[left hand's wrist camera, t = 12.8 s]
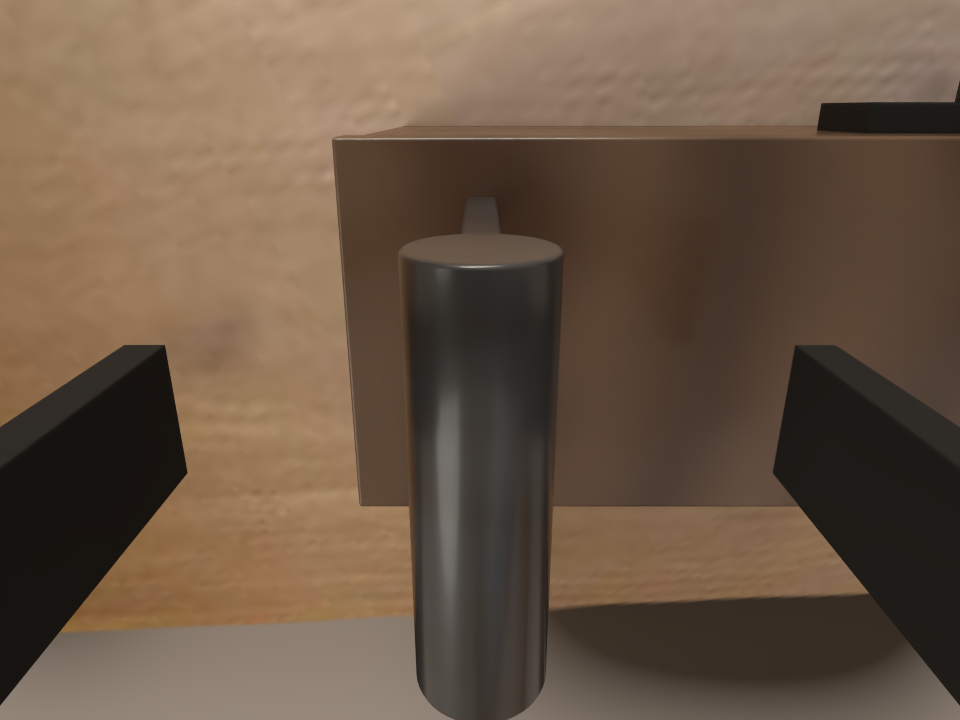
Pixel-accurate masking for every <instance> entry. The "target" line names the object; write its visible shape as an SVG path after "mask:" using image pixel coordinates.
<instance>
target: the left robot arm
mask: <svg viewBox="0 0 960 720" xmlns="http://www.w3.org/2000/svg"><path fill="white" fill-rule="evenodd" d="M186 474H187V467H186V462H185V456H184V450H183V445H182V439H181V433H180V428H179V422H178V417H177V411H176V405H175V400H174V394H173V388H172V383H171V377H170V371H169V366H168V360H167V354H166V349H165V345H124V346H122V347H121V348H119V349H118V350H116V351H115V352H113V353H112V354H110V355H109V356H107V357H106V358H104V359H103V360H101V361H100V362H98V363H97V364H95V365H94V366H92V367H90V368H89V369H87V370H86V371H84V372H83V373H81V374H80V375H78V376H77V377H75V378H74V379H72V380H71V381H69V382H68V383H66V384H65V385H63V386H62V387H60V388H59V389H57V390H56V391H54V392H53V393H51V394H50V395H48V396H47V397H45V398H44V399H42V400H41V401H39V402H38V403H36V404H35V405H33V406H31V407H30V408H28V409H27V410H25V411H24V412H22V413H21V414H19V415H18V416H16V417H15V418H13V419H12V420H10V421H9V422H7V423H6V424H4V425H3V426H1V427H0V705H1V704H2V703H3V701H4V700H5V699H6V698H7V696H8V695H9V694H10V693H11V691H12V690H13V689H14V688H15V686H16V685H17V684H18V683H19V681H20V680H21V679H22V678H23V676H24V675H25V674H26V673H27V672H28V670H29V669H30V668H31V667H32V665H33V664H34V663H35V662H36V660H37V659H38V658H39V657H40V655H41V654H42V653H43V652H44V650H45V649H46V648H47V647H48V645H49V644H50V643H51V642H52V641H53V639H54V638H55V637H56V636H57V634H58V633H59V632H60V631H61V629H62V628H63V627H64V626H65V624H66V623H67V622H68V621H69V619H70V618H71V617H72V616H73V615H74V613H75V612H76V611H77V610H78V608H79V607H80V606H81V605H82V603H83V602H84V601H85V600H86V598H87V597H88V596H89V595H90V593H91V592H92V591H93V590H94V588H95V587H96V586H97V585H98V583H99V582H100V581H101V580H102V579H103V577H104V576H105V575H106V574H107V572H108V571H109V570H110V569H111V567H112V566H113V565H114V564H115V562H116V561H117V560H118V559H119V557H120V556H121V555H122V554H123V552H124V551H125V550H126V549H127V547H128V546H129V545H130V544H131V543H132V541H133V540H134V539H135V538H136V536H137V535H138V534H139V533H140V531H141V530H142V529H143V528H144V526H145V525H146V524H147V523H148V521H149V520H150V519H151V518H152V516H153V515H154V514H155V513H156V512H157V510H158V509H159V508H160V507H161V505H162V504H163V503H164V502H165V500H166V499H167V498H168V497H169V495H170V494H171V493H172V492H173V490H174V489H175V488H176V487H177V485H178V484H179V483H180V482H181V480H182V479H183V478H184V477H185V476H186ZM773 474H774V475H775V477H776V478H777V479H778V480H779V482H780V483H781V484H782V485H783V487H784V488H785V489H786V490H787V492H788V493H789V494H790V495H791V497H792V498H793V499H794V500H795V502H796V503H797V504H798V505H799V507H800V508H801V509H802V510H803V511H804V513H805V514H806V515H807V516H808V518H809V519H810V520H811V521H812V523H813V524H814V525H815V526H816V528H817V529H818V530H819V531H820V533H821V534H822V535H823V536H824V538H825V539H826V540H827V541H828V543H829V544H830V545H831V546H832V547H833V549H834V550H835V551H836V552H837V554H838V555H839V556H840V557H841V559H842V560H843V561H844V562H845V564H846V565H847V566H848V567H849V569H850V570H851V571H852V572H853V574H854V575H855V576H856V577H857V578H858V580H859V581H860V582H861V583H862V585H863V586H864V587H865V588H866V590H867V591H868V592H869V593H870V595H871V596H872V597H873V598H874V600H875V601H876V602H877V603H878V605H879V606H880V607H881V608H882V609H883V611H884V612H885V613H886V614H887V616H888V617H889V618H890V619H891V621H892V622H893V623H894V624H895V626H896V627H897V628H898V629H899V631H900V632H901V633H902V634H903V636H904V637H905V638H906V639H907V640H908V642H909V643H910V644H911V646H912V647H913V648H914V649H915V650H916V652H917V653H918V654H919V655H920V657H921V658H922V659H923V660H924V662H925V663H926V664H927V665H928V667H929V668H930V669H931V670H932V672H933V673H934V674H935V675H936V676H937V678H938V679H939V680H940V682H941V683H942V684H943V685H944V686H945V688H946V689H947V690H948V691H949V693H950V694H951V695H952V696H953V698H954V699H955V700H956V701H957V703H958V704H959V705H960V427H959V426H957V425H956V424H954V423H953V422H951V421H950V420H948V419H947V418H945V417H944V416H942V415H941V414H939V413H938V412H936V411H935V410H933V409H932V408H930V407H929V406H927V405H925V404H924V403H922V402H921V401H919V400H918V399H916V398H915V397H913V396H912V395H910V394H909V393H907V392H906V391H904V390H903V389H901V388H900V387H898V386H897V385H895V384H894V383H892V382H891V381H889V380H888V379H886V378H885V377H883V376H882V375H880V374H879V373H877V372H876V371H874V370H873V369H871V368H870V367H868V366H866V365H865V364H863V363H862V362H860V361H859V360H857V359H856V358H854V357H853V356H851V355H850V354H848V353H847V352H845V351H844V350H842V349H841V348H839V347H838V346H836V345H795V349H794V355H793V360H792V366H791V371H790V377H789V383H788V388H787V394H786V400H785V405H784V411H783V417H782V422H781V428H780V434H779V439H778V445H777V450H776V456H775V462H774V467H773Z"/></svg>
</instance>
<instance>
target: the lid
mask: <svg viewBox="0 0 960 720" xmlns="http://www.w3.org/2000/svg"><path fill="white" fill-rule="evenodd" d="M332 146H333V159H334V173H335V186H336V199H337V212H338V226H339V239H340V252H341V265H342V279H343V292H344V305H345V318H346V332H347V345H348V358H349V371H350V384H351V398H352V411H353V424H354V437H355V451H356V464H357V477H358V490H359V503H360V505H361V506H409V514H410V537H411V559H412V581H413V603H414V626H415V648H416V669H417V680H418V683H419V687H420V689H421V691H422V693H423V695H424V696H425V697H426V699H427V700H428V702H429V703H430V704H431V705H432V706H433V707H434V708H436V709H437V710H438V711H439V712H441V713H443V714H444V715H446V716H448V717H450V718H453V719H455V720H507V719H510V718H512V717H514V716H516V715H518V714H520V713H521V712H523V711H524V710H525V709H527V708H528V707H529V706H530V705H531V704H532V703H533V702H534V701H535V699H536V698H537V696H538V695H539V693H540V691H541V689H542V687H543V684H544V681H545V674H546V653H547V630H548V608H549V585H550V563H551V540H552V518H553V506H799V505H798V504H797V503H796V502H795V500H794V499H793V498H792V497H791V495H790V494H789V493H788V492H787V490H786V489H785V488H784V487H783V485H782V484H781V483H780V482H779V480H778V479H777V478H776V477H775V475H774V474H773V467H774V462H775V456H776V450H777V445H778V439H779V434H780V428H781V422H782V417H783V411H784V405H785V400H786V394H787V388H788V383H789V377H790V371H791V366H792V360H793V355H794V349H795V345H836V346H838V347H839V348H841V349H842V350H844V351H845V352H847V353H848V354H850V355H851V356H853V357H854V358H856V359H857V360H859V361H860V362H862V363H863V364H865V365H866V366H868V367H870V368H871V369H873V370H874V371H876V372H877V373H879V374H880V375H882V376H883V377H885V378H886V379H888V380H889V381H891V382H892V383H894V384H895V385H897V386H898V387H900V388H901V389H903V390H904V391H906V392H907V393H909V394H910V395H912V396H913V397H915V398H916V399H918V400H919V401H921V402H922V403H924V404H925V405H927V406H929V407H930V408H932V409H933V410H935V411H936V412H938V413H939V414H941V415H942V416H944V417H945V418H947V419H948V420H950V421H951V422H953V423H954V424H956V425H957V426H959V427H960V135H343V136H338V137H334V138H333V140H332Z"/></svg>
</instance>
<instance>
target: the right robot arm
mask: <svg viewBox="0 0 960 720" xmlns="http://www.w3.org/2000/svg"><path fill="white" fill-rule="evenodd" d="M817 130H823V131H839V132H856V133H960V82H959V86H958V91H957V95H956V99H955V102H868V103H822V104H821V110H820V115H819V121H818V127H817Z"/></svg>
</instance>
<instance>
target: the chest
mask: <svg viewBox="0 0 960 720" xmlns="http://www.w3.org/2000/svg"><path fill="white" fill-rule="evenodd" d="M817 127H818V126H403V127H399V128H395V129H390V130H385V131H381V132H376V133H372V134H367V135H960V133H856V132H839V131H823V130H817Z"/></svg>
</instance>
